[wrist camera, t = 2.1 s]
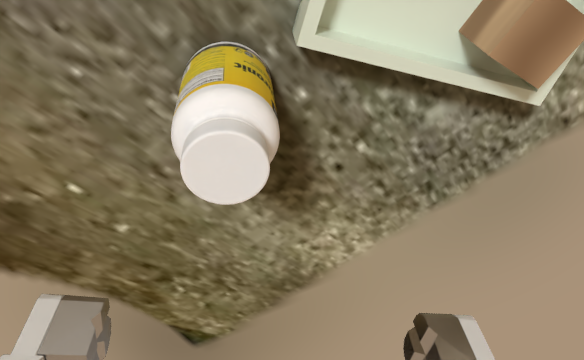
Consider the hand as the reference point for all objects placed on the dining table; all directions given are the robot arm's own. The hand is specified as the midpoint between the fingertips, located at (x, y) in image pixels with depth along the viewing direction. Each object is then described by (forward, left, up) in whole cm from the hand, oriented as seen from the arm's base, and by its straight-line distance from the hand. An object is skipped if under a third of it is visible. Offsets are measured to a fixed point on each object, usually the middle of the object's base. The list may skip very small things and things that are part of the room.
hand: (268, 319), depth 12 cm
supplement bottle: (-1, -2, -19) cm, 19 cm away
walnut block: (+14, +6, -18) cm, 24 cm away
